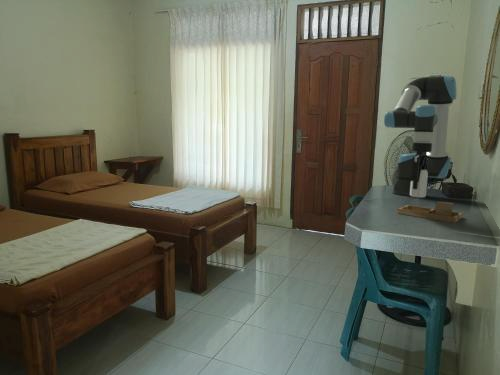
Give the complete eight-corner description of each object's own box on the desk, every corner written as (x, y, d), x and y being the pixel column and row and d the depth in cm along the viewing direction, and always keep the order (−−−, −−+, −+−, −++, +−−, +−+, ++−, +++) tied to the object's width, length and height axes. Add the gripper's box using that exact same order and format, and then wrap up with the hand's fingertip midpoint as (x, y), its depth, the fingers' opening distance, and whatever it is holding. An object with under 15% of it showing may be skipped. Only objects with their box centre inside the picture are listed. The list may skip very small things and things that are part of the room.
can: (427, 198, 165) (429, 170, 163) (411, 197, 166) (413, 169, 164) (423, 195, 171) (426, 168, 169) (408, 194, 172) (410, 167, 171)
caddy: (407, 210, 178) (407, 204, 178) (462, 219, 163) (462, 213, 163) (397, 214, 170) (397, 208, 169) (454, 224, 155) (455, 217, 154)
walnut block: (436, 215, 167) (437, 201, 166) (451, 217, 164) (453, 203, 163) (434, 218, 162) (435, 203, 161) (450, 220, 159) (451, 205, 158)
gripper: (421, 141, 175) (416, 191, 178) (405, 142, 160) (400, 197, 164) (438, 142, 170) (433, 193, 173) (424, 143, 155) (419, 199, 159)
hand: (417, 195), depth 169 cm, fingers closed on can, 6 cm apart
